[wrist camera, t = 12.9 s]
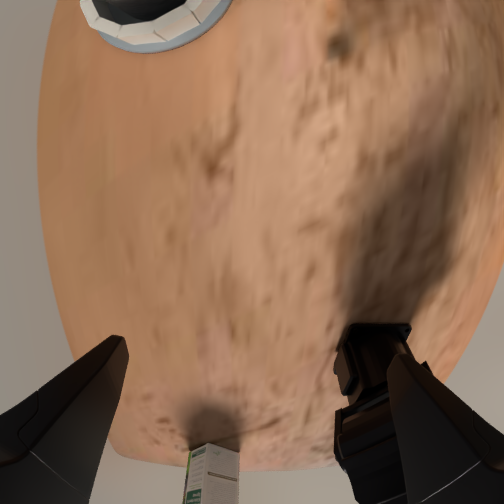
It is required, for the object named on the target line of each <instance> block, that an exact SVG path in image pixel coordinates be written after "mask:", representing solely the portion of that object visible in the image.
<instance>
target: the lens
mask: <svg viewBox="0 0 504 504" xmlns="http://www.w3.org/2000/svg"><path fill="white" fill-rule="evenodd" d="M105 1H106V2H108V3H110V4H112V5H113V6H115V7H117V8H118V9H120V10H122V11H123V12H125V13H127V14H128V15H130V16H131V17H133V18H135V19H139V20H144V21H151V20H156V19H157V18H159V17H161V16H163V15H165V14H166V13H168V12H170V11H172V10H174V9H176V8H178V7H180V6H182V5H184V4H185V2H186V1H187V0H105Z"/></svg>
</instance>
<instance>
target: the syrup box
mask: <svg viewBox="0 0 504 504" xmlns="http://www.w3.org/2000/svg"><path fill="white" fill-rule="evenodd" d="M239 460H240V454H239V453H237V452H235V451H232V450H229V449H226V448H223V447H220V446H217V445H214V444H211V443H206V445H204V446H201V447H199V448H197V449H195V450H193V451H191V452H189V457H188V465H187V473H186V480H185V488H184V496H183V504H238V495H239Z"/></svg>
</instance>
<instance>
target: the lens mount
mask: <svg viewBox="0 0 504 504" xmlns="http://www.w3.org/2000/svg"><path fill="white" fill-rule="evenodd" d="M80 3H81V4H80V6H81V8H82V11H83V13H84V15H85V17H86V19H87V22H88V24H89V26H91V27H92V28H94V29H97V31H98V33H99V34H100V35H101V36H102V38H103V39H105V40H106V41H107V42H108V43H110V44H111V45H113V46H115V47H118V48H120V49H123V50H126V51H129V52H134V53H142V54H150V53H160V52H165V51H169V50H173V49H176V48H179V47H181V46H184V45H186V44H188V43H190V42H192V41H194V40H196V39H197V38H199V37H201V36H202V35H203V34H205V33H206V32H208V31H209V30H210V29H211V28H212V27H213V26H215V25H216V24H217V23H218V22H219V20H220V19H221V18H222V17H223V16H224V14H225V13H226V12H227V10H228V8H229V7H230V5H231V3H232V0H187V1H186V2H185V4H184V5H182V6H180V7H178V8H176V9H174V10H172V11H170V12H168V13H166V14H165V15H163V16H161V17H159V18H157V19H156V20H151V21H144V20H139V19H135V18H133V17H131V16H130V15H128V14H127V13H125V12H123V11H122V10H120V9H118V8H117V7H115V6H113V5H112V4H110V3H108V2H106V1H105V0H80Z"/></svg>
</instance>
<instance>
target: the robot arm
mask: <svg viewBox="0 0 504 504" xmlns="http://www.w3.org/2000/svg"><path fill="white" fill-rule="evenodd" d="M354 329H355V330H354ZM411 330H412V328H411V326H410V324H357V323H356V324H352V325H351V326H350V327H349V329H348V332H347V335H346V338H345V340H344V343H343V344H342V345H341V346H340V349H339V351H338V354H337V357H336V359H335V362H334V365H335V366H334V368H333V371H334V374H336V375H337V377H338V381H339V385H340V390H341V394H342V395H343V396H347V397H348V402H349V406H347V407H345V408H343V409H342V408H341V409H339V410H336V411H335V431H334V454H335V459H336V461H337V462H338V463H339V465H340V466H341V468H342V469H343V471H345V473H347V474H348V477H349V479H350V482H351V485H352V489H353V493H354V496H355V500H356V501H357V502H358V503H359V504H504V435H503V434H502V433H501V432H499V431H498V430H496V429H495V428H494V427H493V426H491V425H490V424H489V423H488V422H486V421H485V420H484V419H483V418H482V417H480V416H479V415H478V414H477V413H476V412H475V411H474V410H473V411H472V409H471V408H470V407H469V406H468V405H467V404H466V403H464V402H463V401H462V400H461V399H460V398H459V397H458V396H457V395H455V394H454V393H453V392H452V391H451V390H450V389H448V388H447V387H446V386H445V385H444V384H443V383H442V382H440V381H439V380H438V379H437V378H436V377H435V376H434V375H433V373H432V371H431V369H430V367H429V365H428V363H427V362H426V361H425V362H423V363H422V364H421V365H420V364H419V363H418V362H417V361H416V360H415V358H414V356H413V354H412V352H411V350H410V348H409V346H408V344H407V342H406V340H407V338H408V336H409V334H410V332H411ZM128 361H129V353H128V349H127V345H126V341H125V338H124V337H122V336H118V335H111V336H109V337H108V338H107V339H105V340H104V341H103V342H101V343H100V344H99V345H97V346H96V347H94V348H93V349H92V350H90V351H89V352H88V353H86V354H85V355H84V356H82V357H81V358H80V359H78V360H77V361H75V362H74V363H73V364H71V365H70V366H69V367H67V368H66V369H65V370H63V371H62V372H61V373H60V374H58V375H57V376H55V377H54V378H53V379H52V380H50V381H49V382H47V383H46V384H45V385H44V386H42V387H41V388H40V389H39V390H38V391H35V392H34V393H33V394H31V395H30V396H29V397H27V398H26V399H25V400H23V401H22V402H20V403H19V404H17V405H16V406H14V407H13V408H11V409H9V410H8V411H6V412H5V413H3V414H1V415H0V504H89V499H90V496H91V492H92V488H93V484H94V481H95V477H96V473H97V470H98V466H99V463H100V459H101V455H102V453H103V449H104V446H105V443H106V440H107V436H108V433H109V430H110V427H111V424H112V421H113V418H114V415H115V412H116V409H117V406H118V403H119V400H120V396H121V391H122V387H123V382H124V378H125V373H126V369H127V365H128Z"/></svg>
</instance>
